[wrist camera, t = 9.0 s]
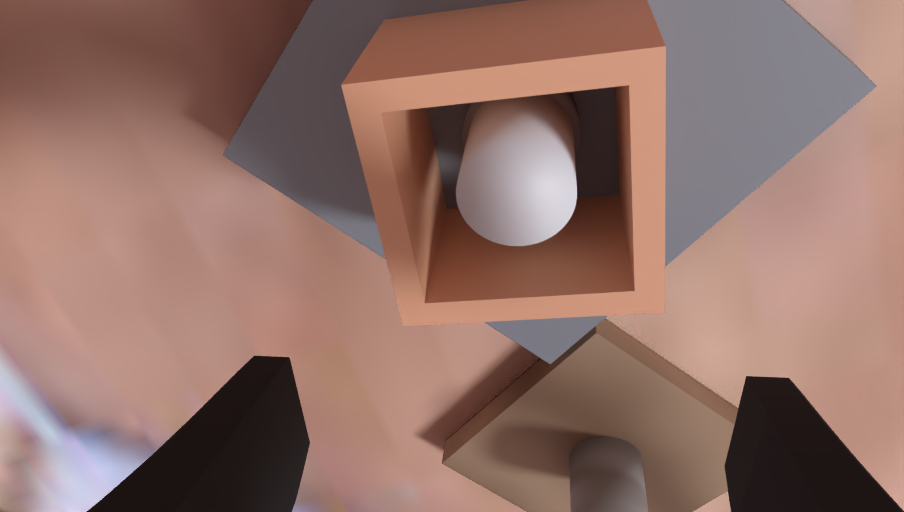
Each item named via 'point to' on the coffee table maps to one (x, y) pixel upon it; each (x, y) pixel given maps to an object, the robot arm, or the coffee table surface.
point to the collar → (502, 77)
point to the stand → (599, 433)
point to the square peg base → (558, 129)
